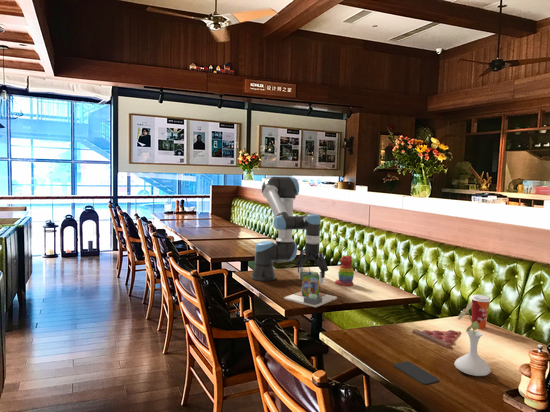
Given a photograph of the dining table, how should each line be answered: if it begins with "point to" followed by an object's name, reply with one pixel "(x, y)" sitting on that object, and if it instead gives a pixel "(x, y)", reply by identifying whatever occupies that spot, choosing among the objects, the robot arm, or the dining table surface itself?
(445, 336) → the pizza slice
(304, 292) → the chalk box
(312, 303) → the picture board
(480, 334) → the flower in vase
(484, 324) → the paper cup
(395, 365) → the phone
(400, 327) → the dining table surface
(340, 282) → the stacking bear
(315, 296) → the button
